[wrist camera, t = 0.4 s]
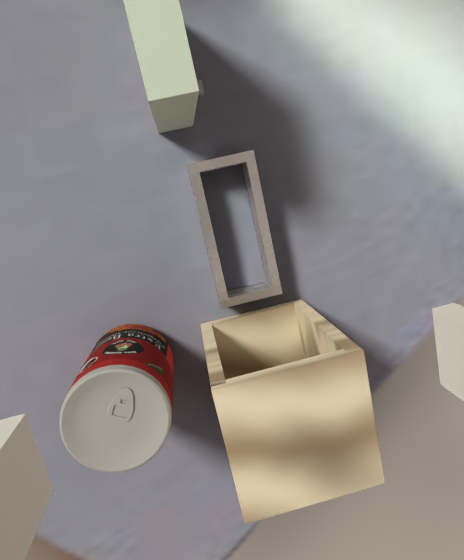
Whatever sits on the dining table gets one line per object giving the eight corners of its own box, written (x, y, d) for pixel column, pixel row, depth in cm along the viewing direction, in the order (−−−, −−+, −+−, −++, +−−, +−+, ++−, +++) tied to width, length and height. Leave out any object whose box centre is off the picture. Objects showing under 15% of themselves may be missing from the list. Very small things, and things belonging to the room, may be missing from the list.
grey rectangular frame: (187, 166, 36) (187, 164, 34) (248, 153, 37) (253, 149, 34) (218, 301, 39) (221, 308, 37) (275, 287, 39) (282, 293, 37)
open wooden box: (200, 324, 39) (211, 390, 26) (301, 298, 40) (363, 350, 26) (223, 416, 41) (244, 524, 28) (318, 391, 42) (385, 483, 29)
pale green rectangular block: (130, 19, 34) (104, -76, 22) (176, 11, 34) (174, -88, 22) (158, 133, 36) (148, 101, 24) (201, 124, 36) (212, 88, 24)
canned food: (174, 321, 39) (172, 367, 28) (173, 399, 40) (171, 472, 30) (90, 320, 38) (55, 368, 27) (92, 401, 39) (59, 477, 29)
